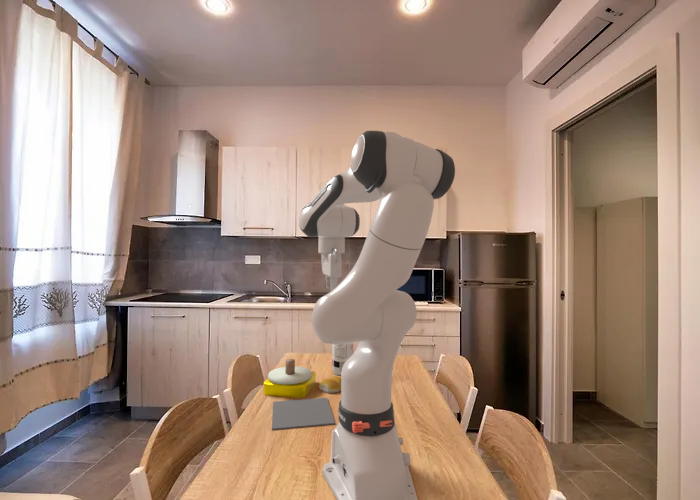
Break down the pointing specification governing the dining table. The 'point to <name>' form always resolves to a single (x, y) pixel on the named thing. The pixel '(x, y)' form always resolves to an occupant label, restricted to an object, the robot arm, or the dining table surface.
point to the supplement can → (340, 356)
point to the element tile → (289, 388)
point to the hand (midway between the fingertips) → (331, 289)
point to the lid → (290, 374)
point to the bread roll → (330, 385)
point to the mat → (301, 413)
